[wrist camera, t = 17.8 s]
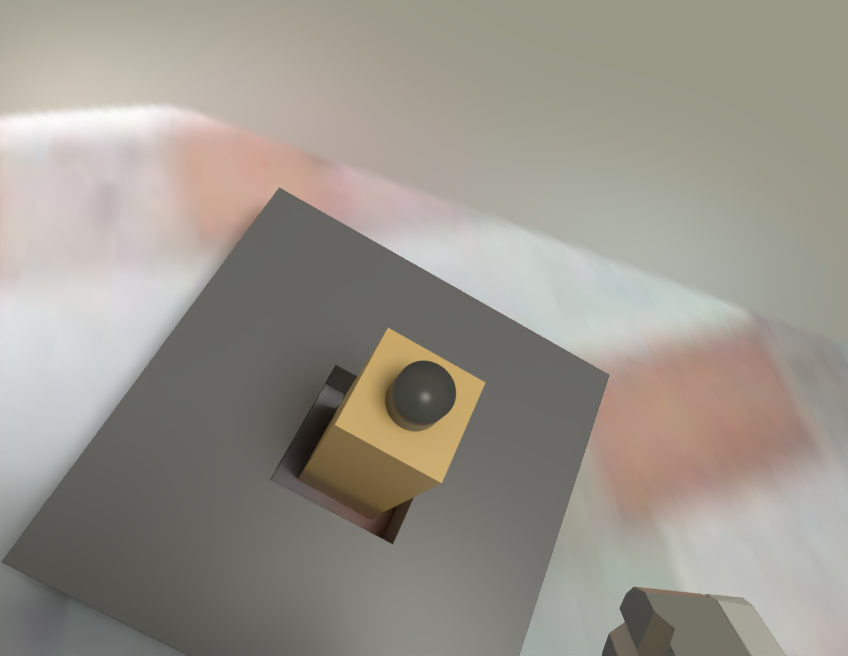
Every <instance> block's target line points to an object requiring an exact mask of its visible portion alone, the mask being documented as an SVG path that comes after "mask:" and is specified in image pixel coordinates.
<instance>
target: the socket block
mask: <svg viewBox="0 0 848 656" xmlns="http://www.w3.org/2000/svg"><path fill="white" fill-rule="evenodd" d="M388 328H390V329H391V330H393V331H395V332H397V333H398V334H400V335H402V336H404V337H406V338H407V339H409V340H411V341H413V342H414V343H416V344H418V345H420V346H422V347H423V348H425V349H427V350H429V351H430V352H432V353H434V354H436V355H438V356H439V357H441V358H443V359H445V360H446V361H448V362H450V363H452V364H454V365H455V366H457V367H459V368H461V369H462V370H464V371H466V372H468V373H470V374H471V375H473V376H475V377H477V378H478V379H480V380H482V381H484V382H486V383H485V385H484V387H483V389H482V392H481V394H480V396H479V399H478V401H477V403H476V406H475V408H474V410H473V412H472V415H471V417H470V419H469V422H468V424H467V426H466V429H465V431H464V433H463V435H462V438H461V440H460V442H459V445H458V447H457V449H456V452H455V454H454V456H453V458H452V461H451V463H450V465H449V468H448V470H447V472H446V475H445V477H444V479H443V481H442V483H441V484H439V485H437V486H435V487H433V488H431V489H429V490H427V491H425V492H423V493H421V494H419V495H417V496H415V497H413V498H411V499H409V500H407V501H405V502H403V503H401V504H399V505H398V506H397V508H396V510H395V512H394V514H393V517H392V519H391V521H390V523H389V525H388V527H387V530H386V532H385V534H384V536H383V538H380V537H378V536H376V535H374V534H372V533H370V532H368V531H366V530H365V529H363V528H361V527H359V526H357V525H355V524H353V523H351V522H349V521H348V520H346V519H344V518H342V517H340V516H338V515H336V514H334V513H332V512H330V511H329V510H327V509H325V508H323V507H321V506H319V505H317V504H315V503H313V502H311V501H310V500H308V499H306V498H304V497H302V496H300V495H298V494H296V493H294V492H293V491H291V490H289V489H287V488H285V487H283V486H281V485H279V484H277V483H275V482H274V481H272V480H271V479H272V478H273V476H274V474H275V472H276V471H277V469H278V467H279V465H280V464H281V462H282V460H283V458H284V457H285V455H286V453H287V451H288V450H289V448H290V446H291V444H292V443H293V441H294V439H295V437H296V436H297V434H298V432H299V430H300V429H301V427H302V425H303V423H304V422H305V420H306V418H307V416H308V415H309V413H310V411H311V409H312V408H313V406H314V404H315V402H316V401H317V399H318V397H319V395H320V393H321V392H322V390H323V388H324V386H325V385H326V384H328V385H330V386H332V387H334V388H336V389H337V390H339V391H341V392H343V393H345V394H347V392H348V390H349V389H350V387H351V386H352V384H353V382H354V381H355V379H356V378H357V376H358V375H359V373H360V371H361V370H362V368H363V367H364V365H365V363H366V362H367V360H368V359H369V357H370V356H371V354H372V352H373V351H374V349H375V348H376V346H377V344H378V343H379V341H380V340H381V338H382V336H383V335H384V333H385V332H386V330H387V329H388ZM608 378H609V374H607V373H605V372H603V371H602V370H600V369H598V368H596V367H595V366H593V365H591V364H589V363H588V362H586V361H584V360H582V359H580V358H579V357H577V356H575V355H573V354H572V353H570V352H568V351H566V350H565V349H563V348H561V347H559V346H558V345H556V344H554V343H552V342H551V341H549V340H547V339H545V338H543V337H542V336H540V335H538V334H536V333H535V332H533V331H531V330H529V329H528V328H526V327H524V326H522V325H521V324H519V323H517V322H515V321H514V320H512V319H510V318H508V317H506V316H505V315H503V314H501V313H499V312H498V311H496V310H494V309H492V308H491V307H489V306H487V305H485V304H484V303H482V302H480V301H478V300H477V299H475V298H473V297H471V296H469V295H468V294H466V293H464V292H462V291H461V290H459V289H457V288H455V287H454V286H452V285H450V284H448V283H447V282H445V281H443V280H441V279H440V278H438V277H436V276H434V275H432V274H431V273H429V272H427V271H425V270H424V269H422V268H420V267H418V266H417V265H415V264H413V263H411V262H410V261H408V260H406V259H404V258H403V257H401V256H399V255H397V254H395V253H394V252H392V251H390V250H388V249H387V248H385V247H383V246H381V245H380V244H378V243H376V242H374V241H373V240H371V239H369V238H367V237H366V236H364V235H362V234H360V233H358V232H357V231H355V230H353V229H351V228H350V227H348V226H346V225H344V224H343V223H341V222H339V221H337V220H336V219H334V218H332V217H330V216H329V215H327V214H325V213H323V212H321V211H320V210H318V209H316V208H314V207H313V206H311V205H309V204H307V203H306V202H304V201H302V200H300V199H299V198H297V197H295V196H293V195H292V194H290V193H288V192H286V191H284V190H283V189H281V188H279V189H278V190H277V191H276V193H275V194H274V195H273V197H272V198H271V199H270V201H269V202H268V203H267V205H266V206H265V207H264V209H263V210H262V212H261V213H260V214H259V216H258V217H257V218H256V220H255V221H254V222H253V224H252V225H251V226H250V228H249V229H248V230H247V232H246V233H245V234H244V236H243V237H242V239H241V240H240V241H239V243H238V244H237V245H236V247H235V248H234V249H233V251H232V252H231V253H230V255H229V256H228V257H227V259H226V260H225V261H224V263H223V264H222V266H221V267H220V268H219V270H218V271H217V272H216V274H215V275H214V276H213V278H212V279H211V280H210V282H209V283H208V284H207V286H206V287H205V288H204V290H203V291H202V292H201V294H200V295H199V297H198V298H197V299H196V301H195V302H194V303H193V305H192V306H191V307H190V309H189V310H188V311H187V313H186V314H185V315H184V317H183V318H182V319H181V321H180V322H179V324H178V325H177V326H176V328H175V329H174V330H173V332H172V333H171V334H170V336H169V337H168V338H167V340H166V341H165V342H164V344H163V345H162V346H161V348H160V349H159V351H158V352H157V353H156V355H155V356H154V357H153V359H152V360H151V361H150V363H149V364H148V365H147V367H146V368H145V369H144V371H143V372H142V373H141V375H140V376H139V378H138V379H137V380H136V382H135V383H134V384H133V386H132V387H131V388H130V390H129V391H128V392H127V394H126V395H125V396H124V398H123V399H122V400H121V402H120V403H119V404H118V406H117V407H116V409H115V410H114V411H113V413H112V414H111V415H110V417H109V418H108V419H107V421H106V422H105V423H104V425H103V426H102V427H101V429H100V430H99V431H98V433H97V434H96V436H95V437H94V438H93V440H92V441H91V442H90V444H89V445H88V446H87V448H86V449H85V450H84V452H83V453H82V454H81V456H80V457H79V458H78V460H77V461H76V463H75V464H74V465H73V467H72V468H71V469H70V471H69V472H68V473H67V475H66V476H65V477H64V479H63V480H62V481H61V483H60V484H59V485H58V487H57V488H56V489H55V491H54V492H53V494H52V495H51V496H50V498H49V499H48V500H47V502H46V503H45V504H44V506H43V507H42V508H41V510H40V511H39V512H38V514H37V515H36V516H35V518H34V519H33V521H32V522H31V523H30V525H29V526H28V527H27V529H26V530H25V531H24V533H23V534H22V535H21V537H20V538H19V539H18V541H17V542H16V543H15V545H14V546H13V548H12V549H11V550H10V552H9V553H8V554H7V556H6V557H5V558H4V560H3V561H2V563H4V564H6V565H8V566H10V567H12V568H14V569H16V570H18V571H20V572H22V573H24V574H26V575H28V576H30V577H32V578H34V579H36V580H38V581H40V582H42V583H44V584H46V585H48V586H50V587H52V588H54V589H56V590H58V591H60V592H62V593H64V594H66V595H68V596H70V597H72V598H74V599H76V600H78V601H80V602H82V603H84V604H86V605H88V606H90V607H92V608H94V609H96V610H98V611H100V612H102V613H104V614H106V615H108V616H110V617H112V618H114V619H116V620H118V621H120V622H122V623H124V624H126V625H128V626H130V627H132V628H134V629H136V630H138V631H140V632H143V633H145V634H147V635H149V636H151V637H153V638H155V639H157V640H159V641H161V642H163V643H165V644H167V645H169V646H171V647H173V648H175V649H177V650H179V651H181V652H183V653H185V654H187V655H189V656H519V655H520V652H521V648H522V645H523V642H524V639H525V636H526V633H527V630H528V627H529V624H530V620H531V617H532V614H533V611H534V608H535V605H536V602H537V599H538V596H539V592H540V589H541V586H542V583H543V580H544V577H545V574H546V571H547V568H548V564H549V561H550V558H551V555H552V552H553V549H554V546H555V543H556V540H557V537H558V533H559V530H560V527H561V524H562V521H563V518H564V515H565V512H566V509H567V505H568V502H569V499H570V496H571V493H572V490H573V487H574V484H575V481H576V477H577V474H578V471H579V468H580V465H581V462H582V459H583V456H584V453H585V449H586V446H587V443H588V440H589V437H590V434H591V431H592V428H593V425H594V421H595V418H596V415H597V412H598V409H599V406H600V403H601V400H602V397H603V394H604V390H605V387H606V384H607V381H608Z"/></svg>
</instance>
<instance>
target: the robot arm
mask: <svg viewBox="0 0 848 656" xmlns="http://www.w3.org/2000/svg"><path fill="white" fill-rule="evenodd" d="M620 610H621V613H622V615H623V618H624V620H625V622H624V623H623V624H621V625H620V626H619V627H617V628H616V629H614V630H613V631H611V632H610V633H609V635H608V638H607V641H606V643H605V646H604V649H603V652H602V656H786V654H785V653H784V651H783V650H782V648H781V647H780V645H779V644H778V642H777V641H776V639H775V638H774V636H773V635H772V633H771V632H770V630H769V629H768V627H767V626H766V624H765V623H764V621H763V620H762V618H761V617H760V615H759V614H758V612H757V611H756V609H755V608H754V606H753V605H752V604H750V603H749V602H748V601H746V600H745V599H744V598H740V597H730V596H720V595H710V594H706V595H702V594H697V593H688V592H679V591H669V590H660V589H651V588H642V587H633V588H632V589H631V590H630V591H629V592H627V593H626V595H625V597H624V599H623V602H622V604H621V606H620Z"/></svg>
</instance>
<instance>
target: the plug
mask: <svg viewBox="0 0 848 656" xmlns="http://www.w3.org/2000/svg"><path fill="white" fill-rule="evenodd" d="M485 383H486V382H484V381H482V380H480V379H478V378H477V377H475V376H473V375H471V374H470V373H468V372H466V371H464V370H462V369H461V368H459V367H457V366H455V365H454V364H452V363H450V362H448V361H446V360H445V359H443V358H441V357H439V356H438V355H436V354H434V353H432V352H430V351H429V350H427V349H425V348H423V347H422V346H420V345H418V344H416V343H414V342H413V341H411V340H409V339H407V338H406V337H404V336H402V335H400V334H398V333H397V332H395V331H393V330H391V329H390V328H388V329H387V330H386V332H385V333H384V335H383V336H382V338H381V340H380V341H379V343H378V344H377V346H376V348H375V349H374V351H373V352H372V354H371V356H370V357H369V359H368V360H367V362H366V363H365V365H364V367H363V368H362V370H361V371H360V373H359V375H358V376H357V378H356V379H355V381H354V382H353V384H352V386H351V387H350V389H349V390H348V392H347V394H346V395H345V397H344V398H343V400H342V402H341V403H340V405H339V406H338V408H337V410H336V411H335V413H334V415H333V417H332V419H331V420H330V422H329V424H328V426H327V428H326V429H325V431H324V433H323V435H322V437H321V438H320V440H319V442H318V444H317V446H316V447H315V449H314V451H313V453H312V455H311V456H310V458H309V460H308V462H307V464H306V465H305V467H304V469H303V471H302V473H301V474H300V476H299V478H298V480H300V481H301V482H303V483H305V484H307V485H309V486H311V487H313V488H314V489H316V490H318V491H320V492H322V493H324V494H326V495H328V496H329V497H331V498H333V499H335V500H337V501H339V502H341V503H343V504H344V505H346V506H348V507H350V508H352V509H354V510H356V511H357V512H359V513H361V514H363V515H365V516H367V517H369V518H373V517H375V516H377V515H379V514H381V513H383V512H385V511H387V510H389V509H391V508H393V507H395V506H397V505H399V504H401V503H403V502H405V501H407V500H409V499H411V498H413V497H415V496H417V495H419V494H421V493H423V492H425V491H427V490H429V489H431V488H433V487H435V486H437V485H439V484H441V483H442V481H443V479H444V477H445V475H446V472H447V470H448V468H449V465H450V463H451V461H452V458H453V456H454V454H455V452H456V449H457V447H458V445H459V442H460V440H461V438H462V435H463V433H464V431H465V429H466V426H467V424H468V422H469V419H470V417H471V415H472V412H473V410H474V408H475V406H476V403H477V401H478V399H479V396H480V394H481V392H482V389H483V387H484V385H485Z"/></svg>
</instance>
